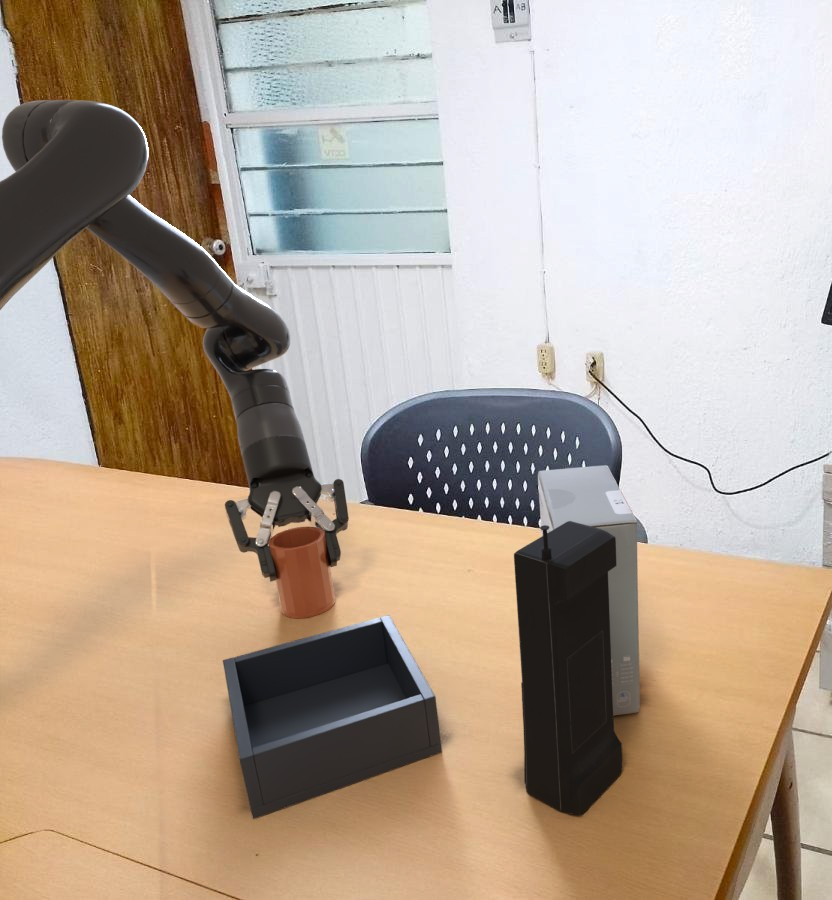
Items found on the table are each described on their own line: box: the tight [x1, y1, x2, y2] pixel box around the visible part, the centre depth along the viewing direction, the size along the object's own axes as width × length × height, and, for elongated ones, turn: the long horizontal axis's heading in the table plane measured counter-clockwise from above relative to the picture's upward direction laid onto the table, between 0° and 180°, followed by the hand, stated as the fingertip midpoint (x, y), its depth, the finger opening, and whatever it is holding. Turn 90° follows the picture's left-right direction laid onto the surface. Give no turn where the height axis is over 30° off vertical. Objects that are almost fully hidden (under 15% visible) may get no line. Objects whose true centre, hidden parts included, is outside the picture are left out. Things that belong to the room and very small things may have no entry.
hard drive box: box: [537, 465, 641, 717], centre depth 82 cm, size 16×8×20 cm, turn 9°
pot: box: [268, 526, 336, 619], centre depth 99 cm, size 6×6×9 cm
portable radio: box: [513, 521, 623, 816], centre depth 66 cm, size 8×6×25 cm
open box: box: [222, 614, 443, 820], centre depth 77 cm, size 16×16×6 cm
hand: (304, 571), depth 97 cm, fingers closed on pot, 6 cm apart
